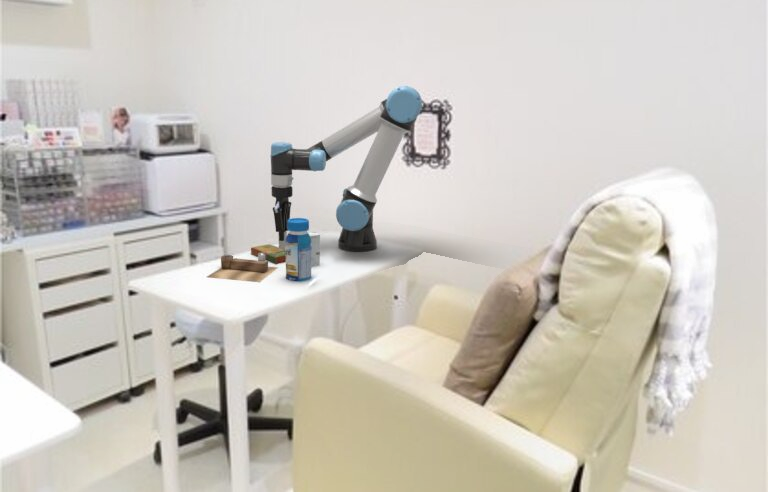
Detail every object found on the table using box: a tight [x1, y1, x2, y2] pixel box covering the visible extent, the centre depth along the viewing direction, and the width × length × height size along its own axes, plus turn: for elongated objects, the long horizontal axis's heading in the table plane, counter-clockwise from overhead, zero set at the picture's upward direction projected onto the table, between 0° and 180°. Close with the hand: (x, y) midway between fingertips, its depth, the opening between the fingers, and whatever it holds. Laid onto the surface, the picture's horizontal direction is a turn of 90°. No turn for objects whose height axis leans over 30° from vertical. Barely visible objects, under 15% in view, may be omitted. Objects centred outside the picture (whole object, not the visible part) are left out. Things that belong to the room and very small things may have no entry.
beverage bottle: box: [284, 217, 313, 282], centre depth 186 cm, size 8×8×20 cm
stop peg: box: [257, 253, 266, 261], centre depth 196 cm, size 2×2×5 cm
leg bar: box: [220, 253, 269, 272], centre depth 194 cm, size 16×4×4 cm, turn 76°
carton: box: [250, 243, 286, 265], centre depth 210 cm, size 8×16×4 cm, turn 44°
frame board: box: [206, 266, 279, 283], centre depth 192 cm, size 18×16×1 cm
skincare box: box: [308, 231, 321, 268], centre depth 201 cm, size 6×4×12 cm
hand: (282, 248), depth 219 cm, fingers closed
